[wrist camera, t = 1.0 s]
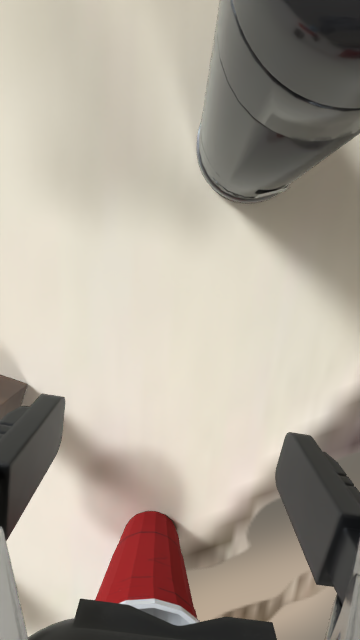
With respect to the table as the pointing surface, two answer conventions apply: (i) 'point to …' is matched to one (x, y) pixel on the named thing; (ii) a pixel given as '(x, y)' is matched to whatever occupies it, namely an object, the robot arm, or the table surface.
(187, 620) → the plastic cup
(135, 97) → the table surface
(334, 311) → the table surface
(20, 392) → the post
